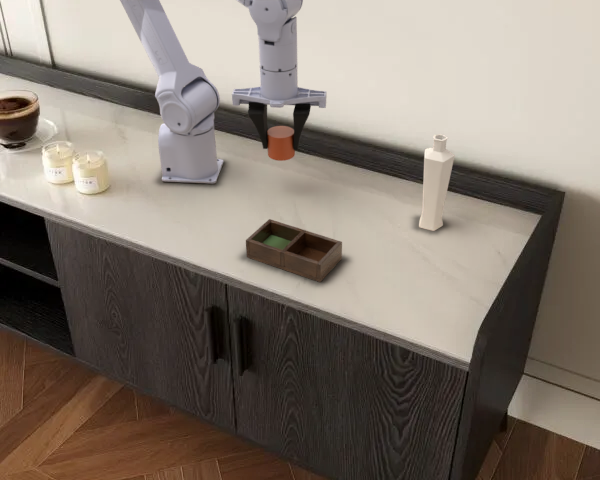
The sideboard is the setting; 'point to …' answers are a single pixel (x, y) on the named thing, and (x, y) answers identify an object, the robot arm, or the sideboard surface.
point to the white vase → (435, 182)
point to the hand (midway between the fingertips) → (280, 146)
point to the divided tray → (294, 250)
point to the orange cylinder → (280, 143)
